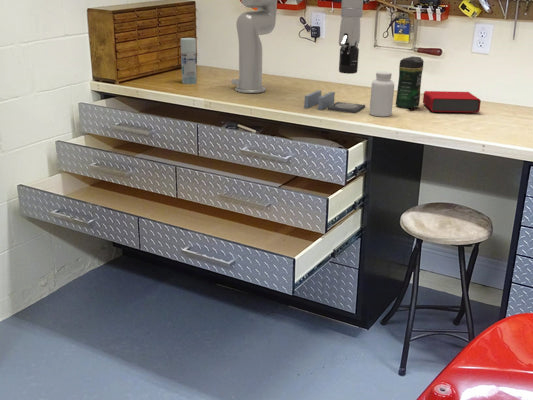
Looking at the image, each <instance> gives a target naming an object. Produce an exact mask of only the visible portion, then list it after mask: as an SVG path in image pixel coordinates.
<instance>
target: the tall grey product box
mask: <svg viewBox="0 0 533 400" xmlns="http://www.w3.org/2000/svg"><path fill="white" fill-rule="evenodd" d="M196 39H197V38H194V37H182V38H180V63H181V64H180V65H181V83H182V84H184V85H195V84H197V83H198V82H197V81H198V80H197V40H196Z"/></svg>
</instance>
